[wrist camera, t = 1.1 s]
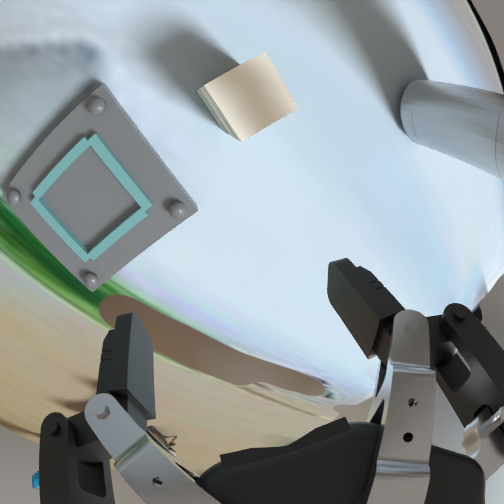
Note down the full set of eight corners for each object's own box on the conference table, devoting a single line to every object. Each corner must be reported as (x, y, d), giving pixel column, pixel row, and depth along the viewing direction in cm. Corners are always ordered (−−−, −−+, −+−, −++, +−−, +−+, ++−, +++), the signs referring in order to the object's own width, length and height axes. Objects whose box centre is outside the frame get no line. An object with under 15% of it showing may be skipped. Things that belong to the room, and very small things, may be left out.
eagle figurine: (166, 429, 57) (143, 420, 51) (186, 442, 53) (164, 434, 47) (153, 452, 53) (129, 445, 47) (173, 466, 49) (149, 461, 43)
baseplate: (105, 85, 20) (99, 83, 18) (196, 205, 29) (198, 213, 27) (7, 190, 21) (-2, 198, 19) (94, 284, 30) (91, 296, 28)
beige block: (240, 64, 22) (265, 52, 16) (265, 105, 25) (298, 108, 19) (195, 90, 23) (203, 85, 16) (223, 130, 26) (241, 142, 19)
